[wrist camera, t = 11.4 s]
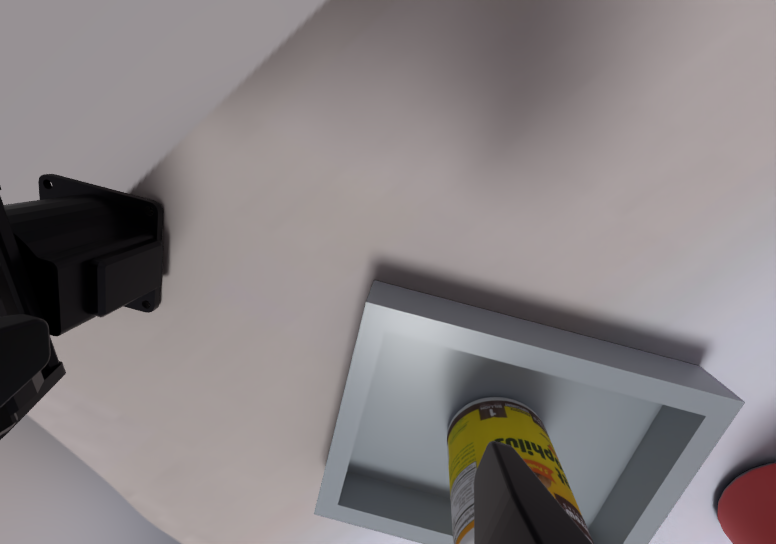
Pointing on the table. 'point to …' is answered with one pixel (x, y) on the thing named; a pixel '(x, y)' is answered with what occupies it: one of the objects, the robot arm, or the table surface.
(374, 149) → the table surface
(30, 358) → the robot arm
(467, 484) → the supplement bottle
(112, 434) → the table surface
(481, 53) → the table surface
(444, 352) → the sorting tray
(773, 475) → the beer can
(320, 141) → the table surface
